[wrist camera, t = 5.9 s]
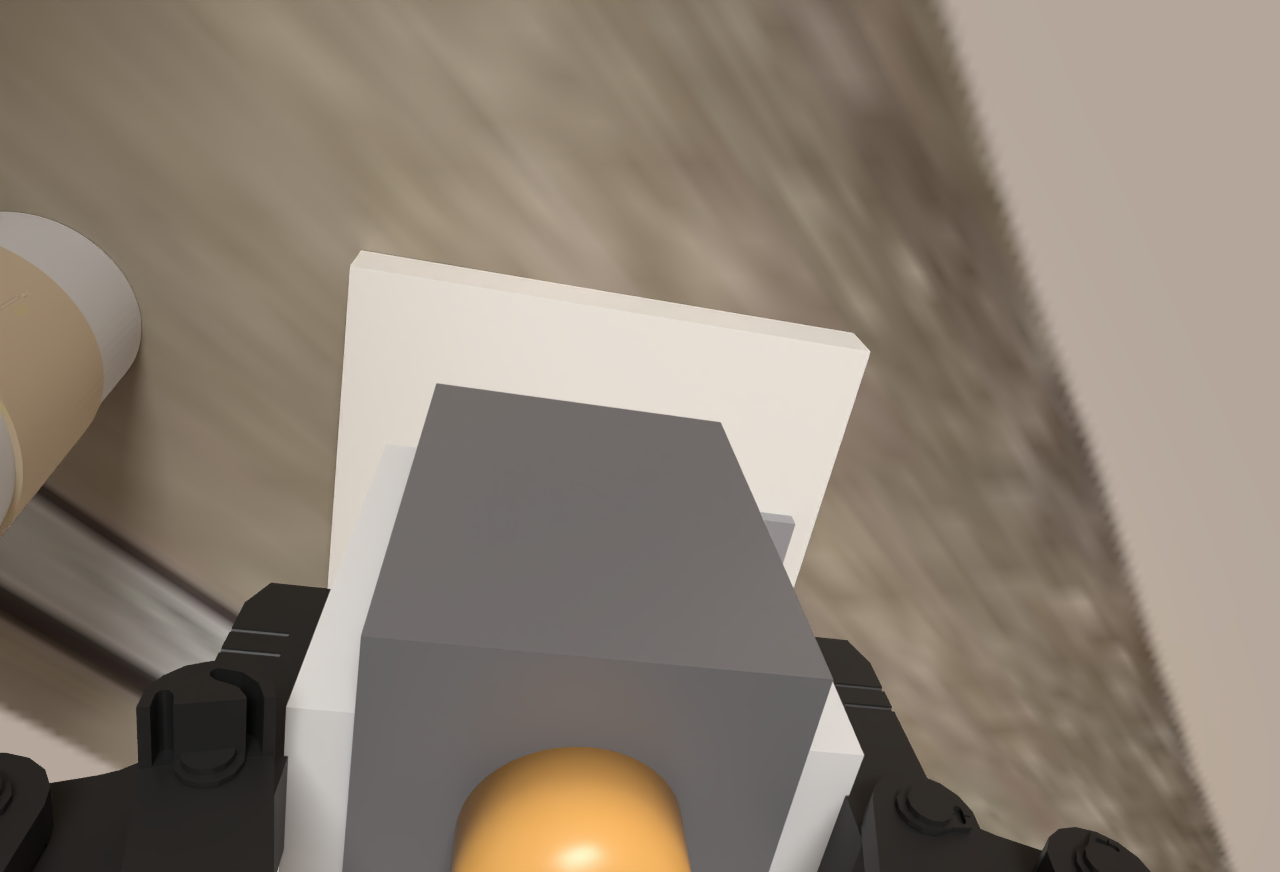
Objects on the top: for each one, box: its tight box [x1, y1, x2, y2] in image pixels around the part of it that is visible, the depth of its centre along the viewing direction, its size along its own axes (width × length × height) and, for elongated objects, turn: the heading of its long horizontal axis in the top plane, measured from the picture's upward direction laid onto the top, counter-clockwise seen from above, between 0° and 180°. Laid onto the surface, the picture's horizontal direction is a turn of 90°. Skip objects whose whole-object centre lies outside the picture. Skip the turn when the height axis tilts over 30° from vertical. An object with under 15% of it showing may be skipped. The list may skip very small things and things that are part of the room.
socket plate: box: [328, 250, 870, 589], centre depth 35 cm, size 18×18×3 cm
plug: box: [342, 383, 833, 872], centre depth 13 cm, size 5×5×8 cm
